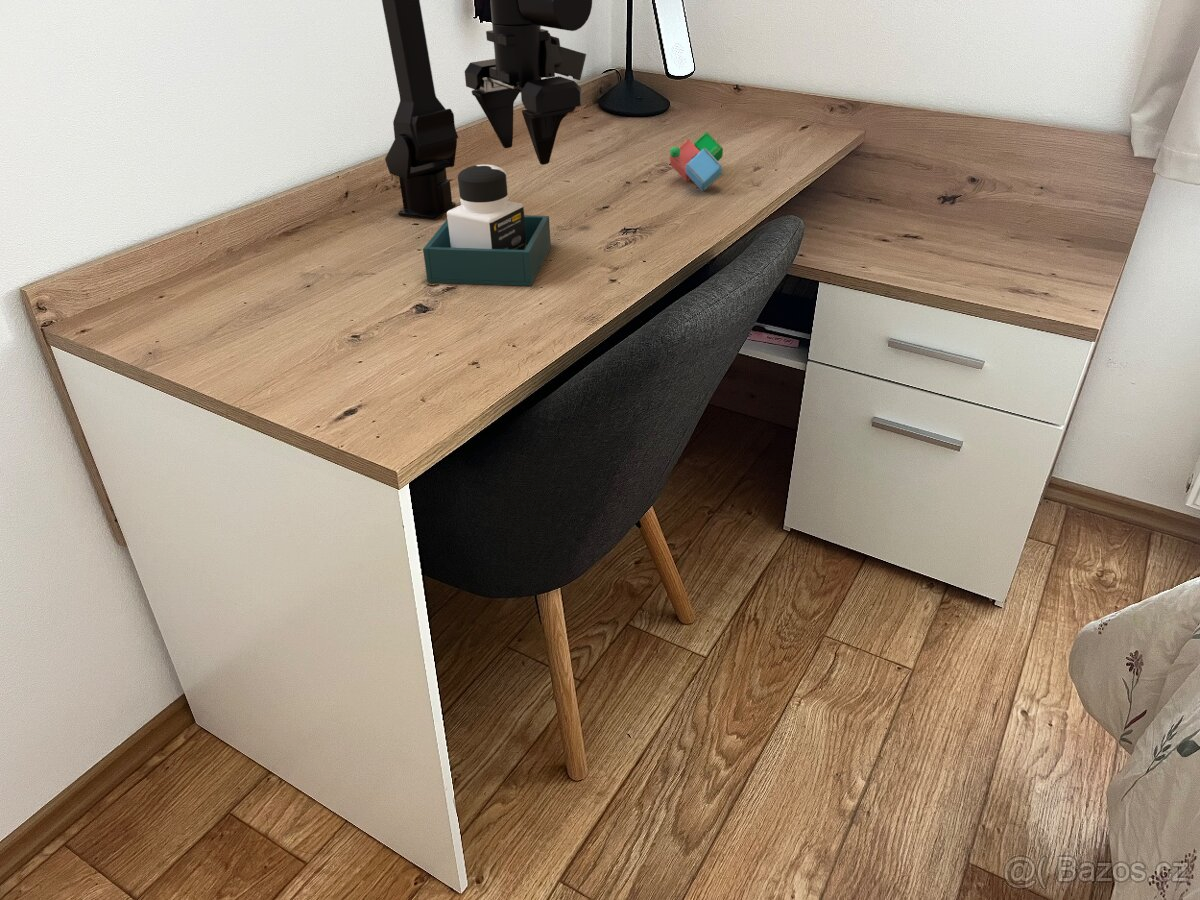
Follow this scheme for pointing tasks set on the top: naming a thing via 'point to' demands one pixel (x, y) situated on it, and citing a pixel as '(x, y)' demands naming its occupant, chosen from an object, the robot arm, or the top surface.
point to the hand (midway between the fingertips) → (525, 155)
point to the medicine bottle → (486, 212)
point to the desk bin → (488, 258)
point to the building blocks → (698, 160)
